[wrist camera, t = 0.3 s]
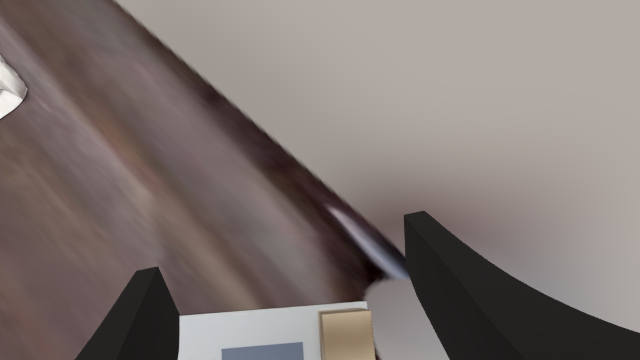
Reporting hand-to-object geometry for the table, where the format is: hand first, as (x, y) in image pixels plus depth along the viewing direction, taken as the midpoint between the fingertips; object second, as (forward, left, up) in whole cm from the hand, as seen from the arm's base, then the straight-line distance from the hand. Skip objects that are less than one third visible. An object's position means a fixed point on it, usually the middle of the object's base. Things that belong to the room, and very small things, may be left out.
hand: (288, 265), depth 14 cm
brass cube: (-6, -5, -29) cm, 30 cm away
